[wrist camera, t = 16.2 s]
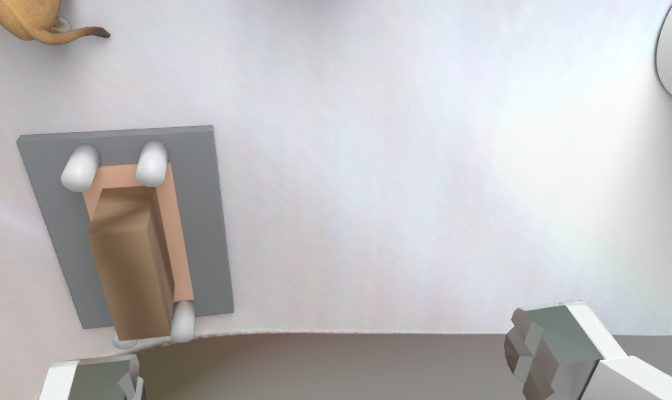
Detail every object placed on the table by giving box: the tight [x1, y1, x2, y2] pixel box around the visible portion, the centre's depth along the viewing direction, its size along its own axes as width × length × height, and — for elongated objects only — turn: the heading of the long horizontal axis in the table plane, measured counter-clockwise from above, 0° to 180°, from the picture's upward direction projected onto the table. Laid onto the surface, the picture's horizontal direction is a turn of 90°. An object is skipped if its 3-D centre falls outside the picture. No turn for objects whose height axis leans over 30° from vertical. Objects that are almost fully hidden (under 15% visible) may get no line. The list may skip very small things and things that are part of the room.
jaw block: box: [87, 186, 175, 341], centre depth 43 cm, size 4×11×6 cm, turn 178°
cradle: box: [17, 125, 234, 349], centre depth 44 cm, size 14×20×4 cm
